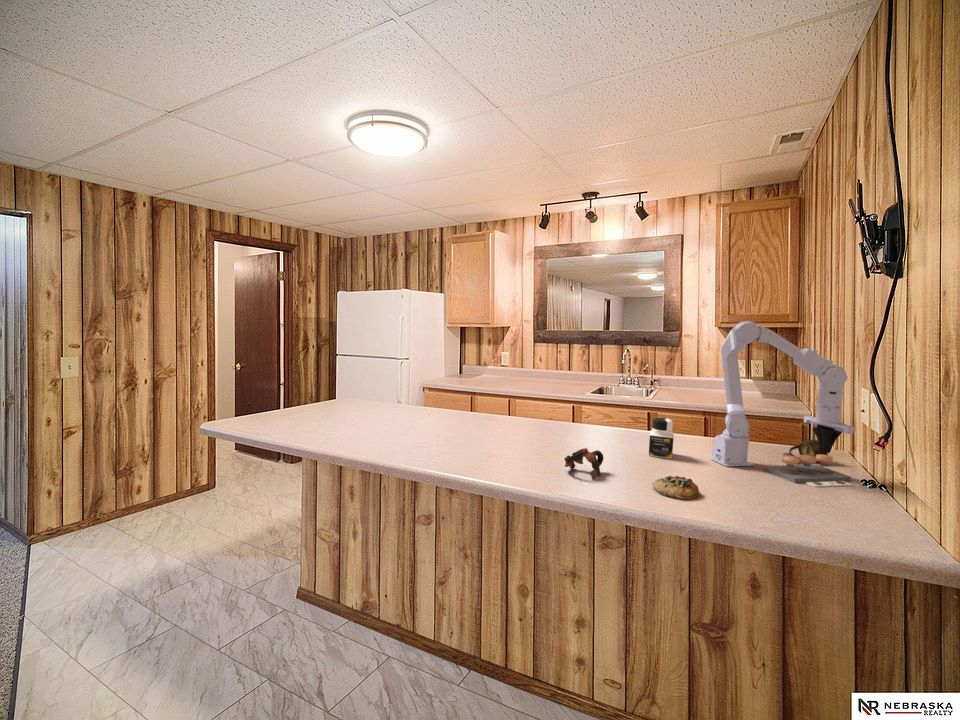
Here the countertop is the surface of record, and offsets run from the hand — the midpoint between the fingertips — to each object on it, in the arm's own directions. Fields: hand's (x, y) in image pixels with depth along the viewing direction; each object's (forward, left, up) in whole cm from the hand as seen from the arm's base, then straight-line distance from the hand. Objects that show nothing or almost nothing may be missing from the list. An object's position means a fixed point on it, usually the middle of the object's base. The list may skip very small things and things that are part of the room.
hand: (824, 452), depth 139 cm
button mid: (-6, 0, -4) cm, 7 cm away
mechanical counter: (+6, +13, -7) cm, 16 cm away
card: (-6, -7, -7) cm, 12 cm away
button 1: (-11, 0, -4) cm, 12 cm away
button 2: (0, 0, -4) cm, 4 cm away
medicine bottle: (-38, +23, -7) cm, 45 cm away
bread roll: (-52, -9, -7) cm, 53 cm away
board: (-6, 0, -7) cm, 9 cm away
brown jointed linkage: (-70, +7, -7) cm, 71 cm away
